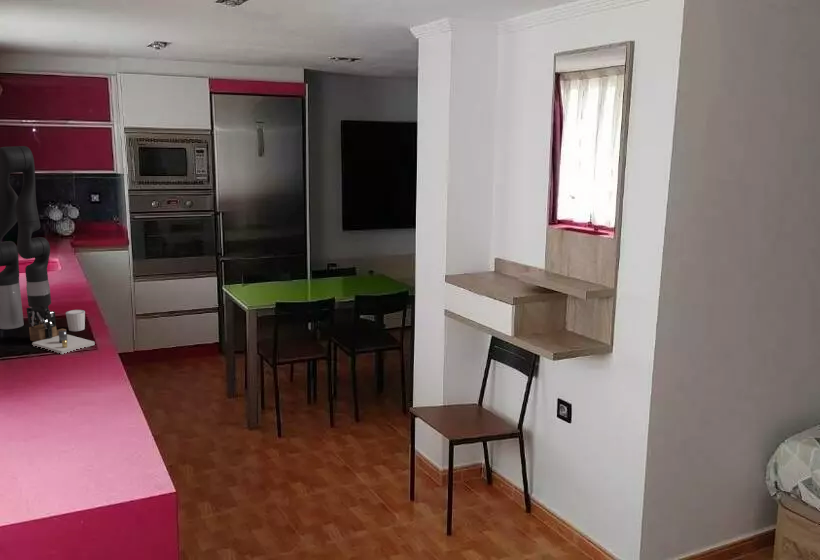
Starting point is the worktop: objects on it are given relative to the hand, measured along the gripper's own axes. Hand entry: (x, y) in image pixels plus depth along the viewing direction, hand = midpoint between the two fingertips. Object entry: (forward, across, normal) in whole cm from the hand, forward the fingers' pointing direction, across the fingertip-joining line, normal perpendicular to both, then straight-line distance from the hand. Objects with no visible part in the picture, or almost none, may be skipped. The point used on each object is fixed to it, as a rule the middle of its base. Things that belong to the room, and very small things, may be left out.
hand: (43, 336), depth 268 cm
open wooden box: (+1, 0, +3) cm, 3 cm away
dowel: (0, +17, -3) cm, 18 cm away
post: (0, +12, 0) cm, 12 cm away
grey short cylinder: (+1, -2, +15) cm, 15 cm away
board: (+1, +12, 0) cm, 12 cm away
